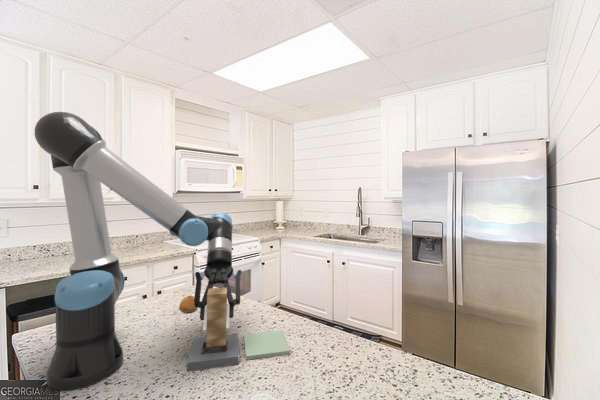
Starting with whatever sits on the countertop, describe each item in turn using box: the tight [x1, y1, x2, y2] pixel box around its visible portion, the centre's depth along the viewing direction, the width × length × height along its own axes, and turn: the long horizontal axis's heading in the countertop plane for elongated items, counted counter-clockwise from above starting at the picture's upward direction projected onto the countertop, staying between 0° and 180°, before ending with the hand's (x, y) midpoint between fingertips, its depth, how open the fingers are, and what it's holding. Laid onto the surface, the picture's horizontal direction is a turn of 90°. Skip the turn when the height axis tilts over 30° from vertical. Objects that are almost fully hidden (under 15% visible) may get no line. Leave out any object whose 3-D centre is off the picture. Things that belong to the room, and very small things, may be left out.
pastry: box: [179, 295, 197, 314], centre depth 109 cm, size 9×7×4 cm
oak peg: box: [206, 287, 228, 347], centre depth 78 cm, size 5×5×14 cm
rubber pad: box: [243, 329, 291, 361], centre depth 83 cm, size 12×12×1 cm
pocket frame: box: [186, 333, 240, 372], centre depth 78 cm, size 12×12×2 cm
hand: (216, 330), depth 75 cm, fingers closed on oak peg, 5 cm apart
